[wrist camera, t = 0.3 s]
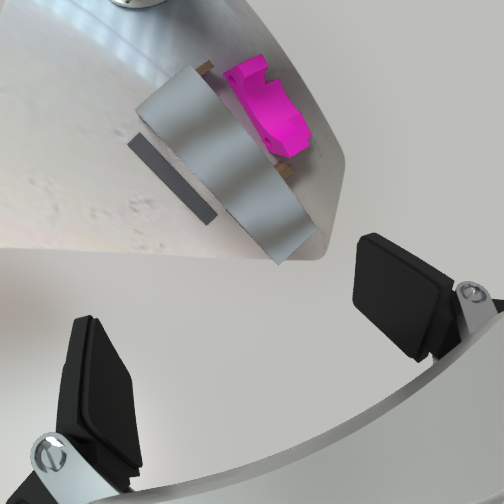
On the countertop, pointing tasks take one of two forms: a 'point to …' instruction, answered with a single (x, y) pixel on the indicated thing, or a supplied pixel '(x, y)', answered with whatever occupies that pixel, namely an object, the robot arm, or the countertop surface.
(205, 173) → the tunnel
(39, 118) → the countertop surface
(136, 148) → the dark grey flat bar
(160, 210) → the countertop surface
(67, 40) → the countertop surface
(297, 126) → the toy block
